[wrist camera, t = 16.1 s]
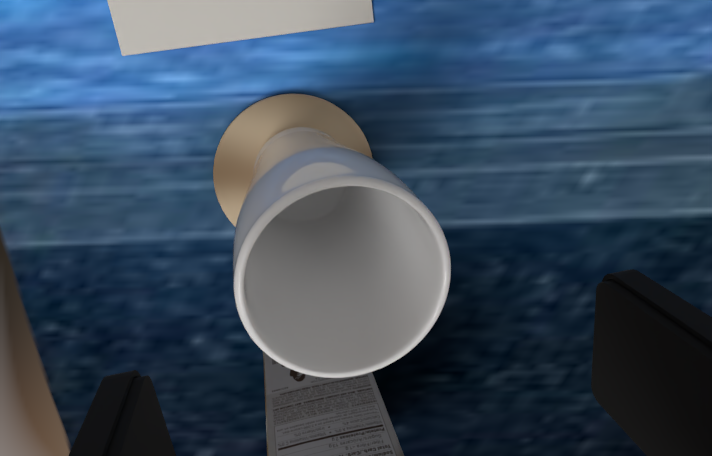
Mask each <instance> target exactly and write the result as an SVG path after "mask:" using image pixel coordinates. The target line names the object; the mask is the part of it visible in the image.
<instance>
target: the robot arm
mask: <svg viewBox="0 0 712 456" xmlns="http://www.w3.org/2000/svg"><path fill="white" fill-rule="evenodd" d="M591 385H592V391H593V394H594V396H595V398H596V400H597V401H598V403H599V404H600V405H601V406H602V407H603V408H604V409H605V410H606V411H607V413H608V414H609V415H610V416H611V417H612V418H613V419H614V420H615V421H616V422H617V423H618V425H619V426H620V427H621V428H622V429H623V430H624V431H625V432H626V433H627V434H628V435H629V437H630V438H631V439H632V440H633V441H634V442H635V443H636V444H637V445H638V446H639V447H640V448H641V450H642V451H643V452H644V453H645V454H646V455H647V456H712V317H710V316H709V315H707V314H705V313H704V312H702V311H701V310H699V309H698V308H696V307H694V306H693V305H691V304H690V303H688V302H686V301H685V300H683V299H682V298H680V297H678V296H677V295H675V294H674V293H672V292H671V291H669V290H667V289H666V288H664V287H663V286H661V285H659V284H658V283H656V282H655V281H653V280H651V279H650V278H648V277H647V276H645V275H644V274H642V273H640V272H639V271H637V270H634V269H632V270H626V271H621V272H616V273H611V274H607V275H606V276H604V278H603V280H602V282H601V283H599V284H598V286H597V290H596V307H595V325H594V344H593V363H592V382H591ZM69 456H176V454H175V451H174V448H173V445H172V442H171V439H170V436H169V433H168V430H167V426H166V423H165V420H164V417H163V414H162V411H161V408H160V405H159V402H158V399H157V396H156V393H155V390H154V387H153V384H152V381H151V379H150V377H149V376H143V377H141V376H140V374H139V373H138V371H136V370H134V371H130V372H125V373H120V374H115V375H110V376H106V377H104V378H103V380H102V382H101V384H100V386H99V388H98V391H97V393H96V395H95V397H94V400H93V402H92V404H91V406H90V409H89V411H88V413H87V416H86V418H85V420H84V422H83V425H82V427H81V429H80V431H79V434H78V436H77V438H76V440H75V443H74V445H73V447H72V449H71V452H70V454H69Z"/></svg>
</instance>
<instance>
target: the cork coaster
mask: <svg viewBox="0 0 712 456" xmlns="http://www.w3.org/2000/svg"><path fill="white" fill-rule="evenodd" d="M295 127H309V128H314V129H318V130H320V131H323V132H325V133H327V134H328V135H330V136H331V137H332V138H334V139H335V140H336V141H338V142H340V143H342V144H344V145H346V146H348V147H350V148H352V149H354V150H357V151H359V152H361V153H363V154H365V155H367V156H369V157H370V158H372V153H371V150H370V147H369V144H368V142H367V140H366V138H365V136H364V134H363V132H362V131H361V129H360V128H359V126H358V125H357V124H356V123H355V121H354V120H353V119H352V118H351V117H350V116H349V115H348V114H346V113H345V112H344V111H343V110H341V109H340V108H338V107H337V106H335V105H334V104H332V103H330V102H328V101H326V100H324V99H321V98H318V97H315V96H311V95H306V94H294V93H291V94H280V95H276V96H271V97H268V98H265V99H263V100H260V101H258V102H256V103H254V104H253V105H251V106H249V107H248V108H247V109H245V110H244V111H242V112H241V113H240V114H239V115H238V116H237V117H236V118H235V119H234V120H233V121H232V123H231V124H230V125H229V126H228V128H227V129H226V131H225V133H224V134H223V136H222V138H221V140H220V143H219V145H218V148H217V152H216V155H215V160H214V168H213V177H214V186H215V191H216V195H217V198H218V201H219V203H220V205H221V207H222V210H223V211H224V213H225V214H226V216H227V218H228V219H229V220H230V221H231V223H232V224H233V225H234V226H235V227H236V223H237V219H238V215H239V211H240V208H241V205H242V202H243V199H244V196H245V194H246V191H247V189H248V186H249V184H250V181H251V178H252V176H253V169H254V164H255V160H256V157H257V155H258V153H259V151H260V150H261V148H262V147H263V145H264V144H265V143H266V142H267V141H268V140H269V139H270V138H271V137H273V136H274V135H276V134H277V133H279V132H281V131H284V130H286V129H290V128H295ZM372 159H373V158H372Z"/></svg>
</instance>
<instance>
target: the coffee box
mask: <svg viewBox="0 0 712 456" xmlns="http://www.w3.org/2000/svg"><path fill="white" fill-rule="evenodd" d="M263 358H264V384H265V408H266V431H267V456H404V454H403V452H402V449H401V447H400V444H399V441H398V439H397V436H396V433H395V431H394V428H393V426H392V423H391V420H390V418H389V415H388V413H387V410H386V407H385V405H384V402H383V399H382V397H381V394H380V392H379V389H378V386H377V384H376V381H375V378H374V376H373V373H372V372H370V373H366V374H363V375H358V376H353V377H345V378H323V377H316V376H311V375H306V374H303V373H300V372H297V371H294V370H292V369H289V368H287V367H285V366H283V365H282V364H280V363H278V362H276V361H275V360H274V359H272V358H271V357H269V356H268V355H267V354H266V353H265V352H263Z"/></svg>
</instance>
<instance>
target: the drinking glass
mask: <svg viewBox="0 0 712 456" xmlns="http://www.w3.org/2000/svg"><path fill="white" fill-rule="evenodd" d="M450 278H451V260H450V253H449V248H448V245H447V241H446V238H445V236H444V233H443V231H442V229H441V227H440V225H439V223H438V221H437V220H436V218H435V217H434V215H433V214H432V213H431V212H430V210H429V209H428V208H427V207H426V206H425V205H424V204H423V203H422V201H421V200H420V199H419V198H418V197H417V196H416V194H415V193H414V192H413V191H412V190H411V189H410V188H409V187H408V186H407V185H406V184H405V183H404V182H403V181H402V180H401V179H399V178H398V177H397V176H396V175H395V174H394V173H392V172H391V171H390V170H389V169H387V168H386V167H385V166H383V165H382V164H380V163H379V162H377V161H375V160H374V159H372V158H370V157H369V156H367V155H365V154H363V153H361V152H359V151H357V150H354V149H352V148H350V147H348V146H346V145H344V144H342V143H340V142H338V141H336V140H335V139H334V138H332V137H331V136H330V135H328V134H327V133H325V132H323V131H320V130H318V129H314V128H309V127H295V128H290V129H286V130H284V131H281V132H279V133H277V134H276V135H274V136H273V137H271V138H270V139H269V140H268V141H267V142H266V143H265V144H264V145H263V147H262V148H261V150H260V151H259V153H258V155H257V157H256V160H255V164H254V169H253V176H252V178H251V181H250V184H249V186H248V189H247V191H246V194H245V196H244V199H243V202H242V205H241V208H240V211H239V215H238V219H237V223H236V228H235V236H234V244H233V279H234V295H235V302H236V306H237V310H238V313H239V316H240V319H241V321H242V323H243V325H244V327H245V329H246V331H247V332H248V334H249V335H250V337H251V338H252V339H253V341H254V342H255V343H256V344H257V345H258V347H259V348H260V349H261V350H262V351H263V352H265V353H266V354H267V355H268V356H269V357H271V358H272V359H274V360H275V361H276V362H278V363H280V364H282V365H283V366H285V367H287V368H289V369H292V370H294V371H297V372H300V373H303V374H306V375H311V376H316V377H323V378H345V377H353V376H358V375H363V374H366V373H370V372H373V371H376V370H378V369H381V368H383V367H385V366H387V365H389V364H391V363H393V362H395V361H396V360H398V359H400V358H401V357H403V356H404V355H405V354H407V353H408V352H409V351H411V350H412V349H413V348H414V347H415V346H416V345H417V344H418V343H419V342H420V341H421V340H422V339H423V338H424V337H425V336H426V335H427V333H428V332H429V331H430V329H431V328H432V327H433V325H434V324H435V322H436V320H437V319H438V317H439V315H440V313H441V311H442V309H443V306H444V304H445V301H446V298H447V294H448V290H449V285H450Z"/></svg>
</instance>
